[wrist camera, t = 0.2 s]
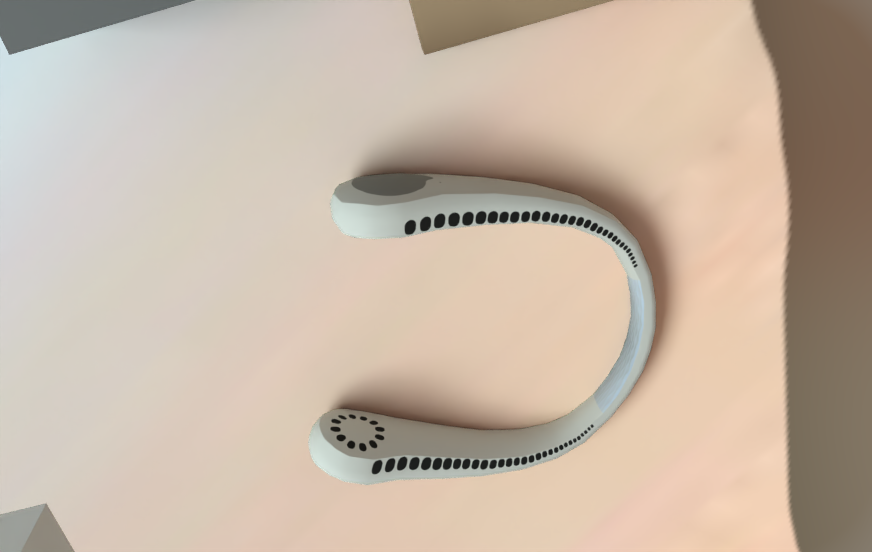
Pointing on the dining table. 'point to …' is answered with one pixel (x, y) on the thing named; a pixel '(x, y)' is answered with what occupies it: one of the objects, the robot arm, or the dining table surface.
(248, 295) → the dining table surface
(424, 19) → the hook board
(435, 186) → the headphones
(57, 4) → the grey storage bin
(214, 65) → the dining table surface
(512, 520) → the dining table surface
